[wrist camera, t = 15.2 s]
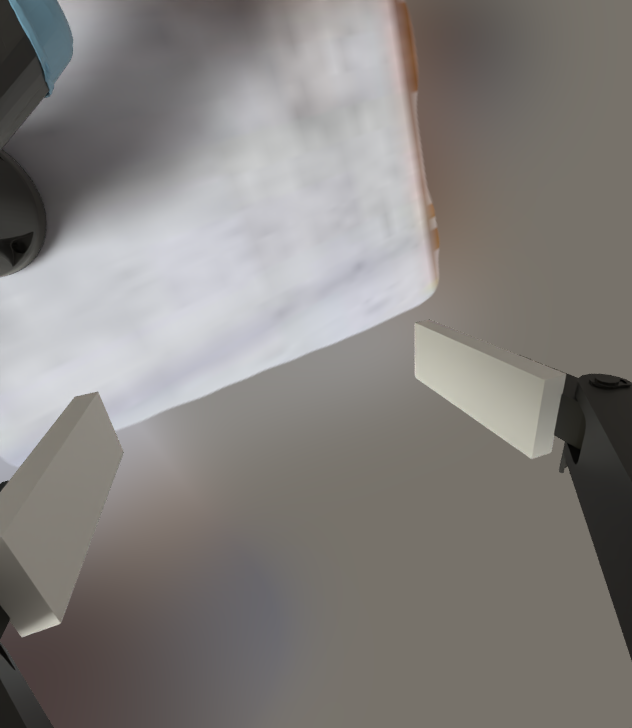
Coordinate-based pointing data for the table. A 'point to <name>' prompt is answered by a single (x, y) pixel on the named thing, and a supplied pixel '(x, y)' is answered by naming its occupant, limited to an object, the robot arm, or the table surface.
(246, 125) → the table surface
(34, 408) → the table surface
